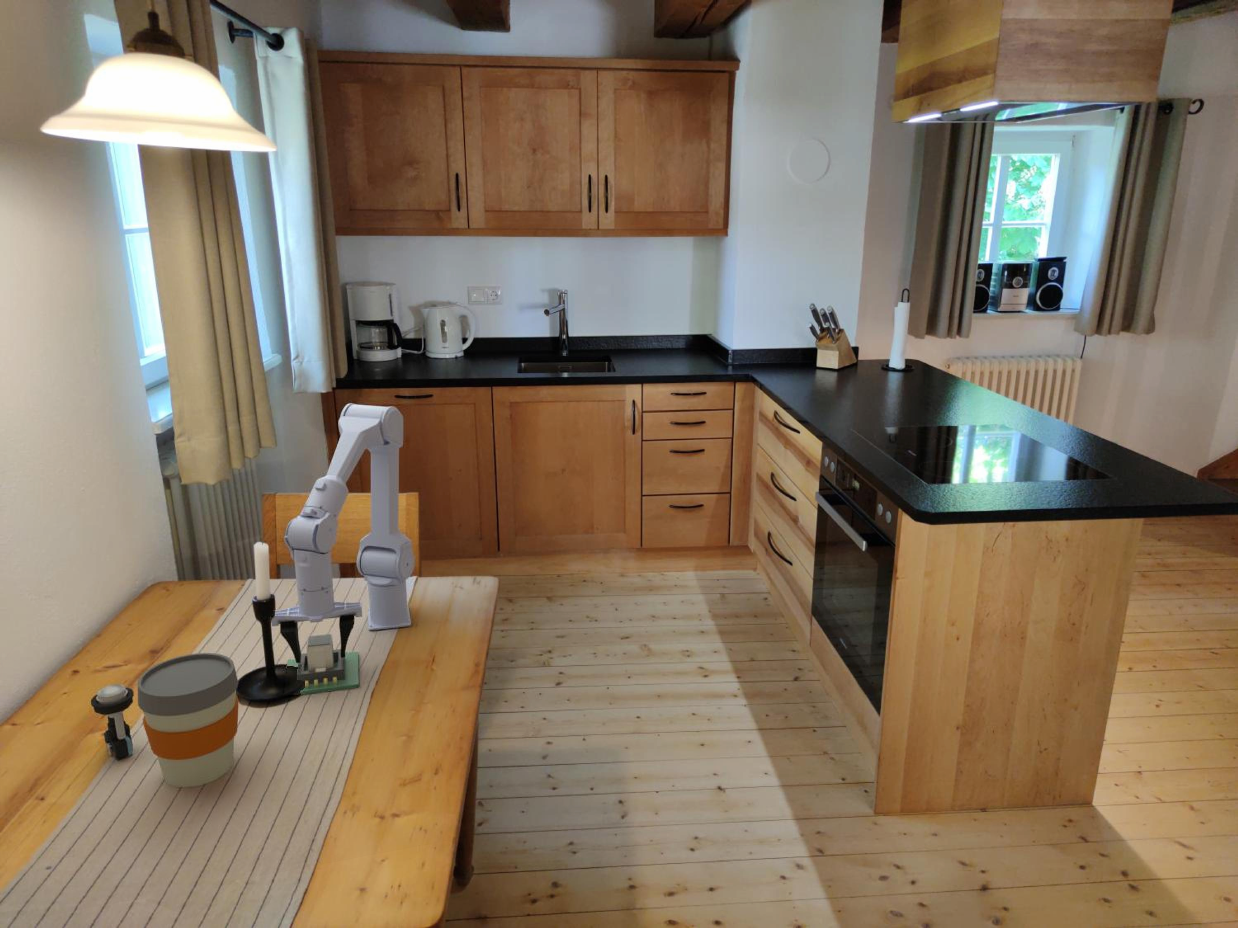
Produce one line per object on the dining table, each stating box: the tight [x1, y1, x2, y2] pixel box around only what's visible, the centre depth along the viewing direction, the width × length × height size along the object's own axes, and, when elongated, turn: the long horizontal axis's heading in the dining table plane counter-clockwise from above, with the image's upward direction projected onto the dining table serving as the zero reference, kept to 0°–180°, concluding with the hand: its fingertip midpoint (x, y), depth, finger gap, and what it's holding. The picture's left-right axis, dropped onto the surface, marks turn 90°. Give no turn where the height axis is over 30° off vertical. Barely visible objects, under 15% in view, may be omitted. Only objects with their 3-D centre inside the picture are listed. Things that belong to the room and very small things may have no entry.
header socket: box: [286, 648, 360, 696], centre depth 146 cm, size 12×12×3 cm
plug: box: [305, 633, 334, 671], centre depth 145 cm, size 4×4×6 cm
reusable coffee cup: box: [137, 652, 239, 788], centre depth 118 cm, size 13×13×15 cm
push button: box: [90, 683, 135, 761], centre depth 123 cm, size 7×5×10 cm
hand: (321, 657), depth 145 cm, fingers open, 7 cm apart
